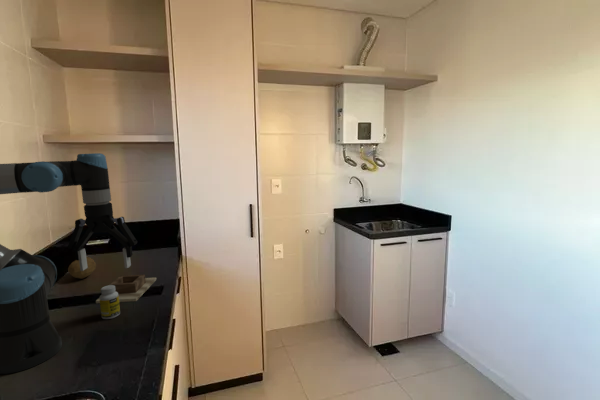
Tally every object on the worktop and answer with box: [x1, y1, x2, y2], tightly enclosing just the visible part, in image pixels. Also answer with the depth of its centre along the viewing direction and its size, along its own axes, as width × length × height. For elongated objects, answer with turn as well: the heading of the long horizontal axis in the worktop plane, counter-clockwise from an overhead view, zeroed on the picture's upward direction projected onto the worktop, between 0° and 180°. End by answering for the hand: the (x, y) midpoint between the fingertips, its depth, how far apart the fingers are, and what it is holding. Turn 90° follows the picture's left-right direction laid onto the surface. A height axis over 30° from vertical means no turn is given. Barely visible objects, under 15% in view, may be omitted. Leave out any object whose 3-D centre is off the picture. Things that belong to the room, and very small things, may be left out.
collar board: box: [95, 273, 157, 304], centre depth 126 cm, size 20×14×4 cm
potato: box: [67, 256, 97, 280], centre depth 142 cm, size 10×14×8 cm
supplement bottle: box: [98, 284, 121, 320], centre depth 106 cm, size 5×5×10 cm
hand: (106, 268), depth 105 cm, fingers open, 13 cm apart
